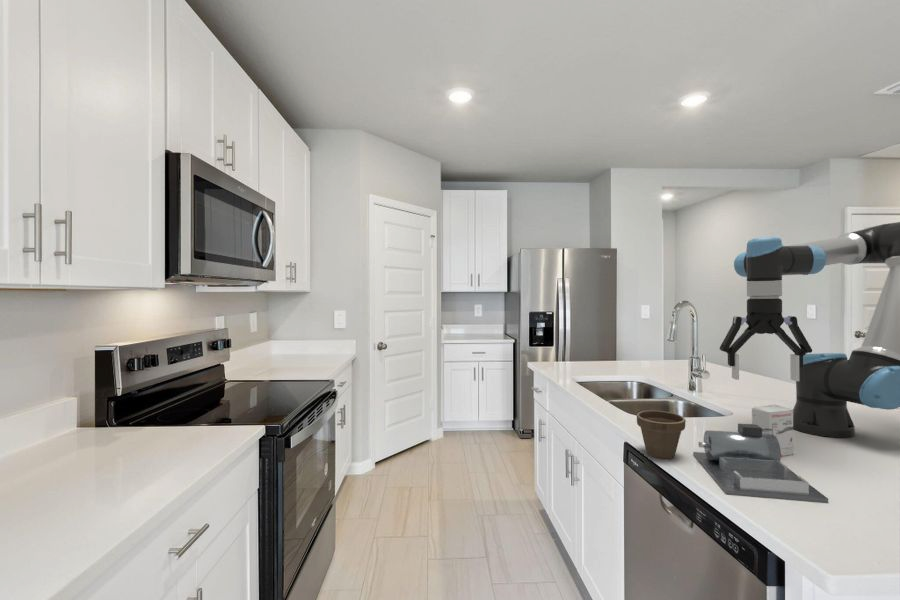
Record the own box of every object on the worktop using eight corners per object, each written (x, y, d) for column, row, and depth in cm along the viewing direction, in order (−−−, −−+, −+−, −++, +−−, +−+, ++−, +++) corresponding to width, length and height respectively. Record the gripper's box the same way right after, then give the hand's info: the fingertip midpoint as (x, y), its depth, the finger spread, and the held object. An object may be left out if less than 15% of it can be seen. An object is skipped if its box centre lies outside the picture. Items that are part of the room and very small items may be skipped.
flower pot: (683, 466, 107) (683, 424, 107) (633, 457, 113) (633, 418, 113) (687, 451, 117) (687, 413, 117) (640, 444, 123) (640, 408, 123)
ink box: (768, 458, 111) (768, 411, 111) (750, 452, 116) (750, 406, 116) (794, 454, 114) (794, 408, 114) (775, 448, 119) (775, 404, 118)
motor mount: (773, 460, 110) (773, 421, 110) (828, 502, 88) (828, 454, 88) (693, 455, 114) (693, 417, 114) (726, 494, 92) (725, 447, 92)
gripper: (811, 296, 116) (812, 378, 117) (706, 298, 122) (706, 375, 122) (829, 297, 109) (829, 383, 109) (715, 298, 115) (716, 380, 115)
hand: (764, 379), depth 116 cm, fingers open, 13 cm apart
